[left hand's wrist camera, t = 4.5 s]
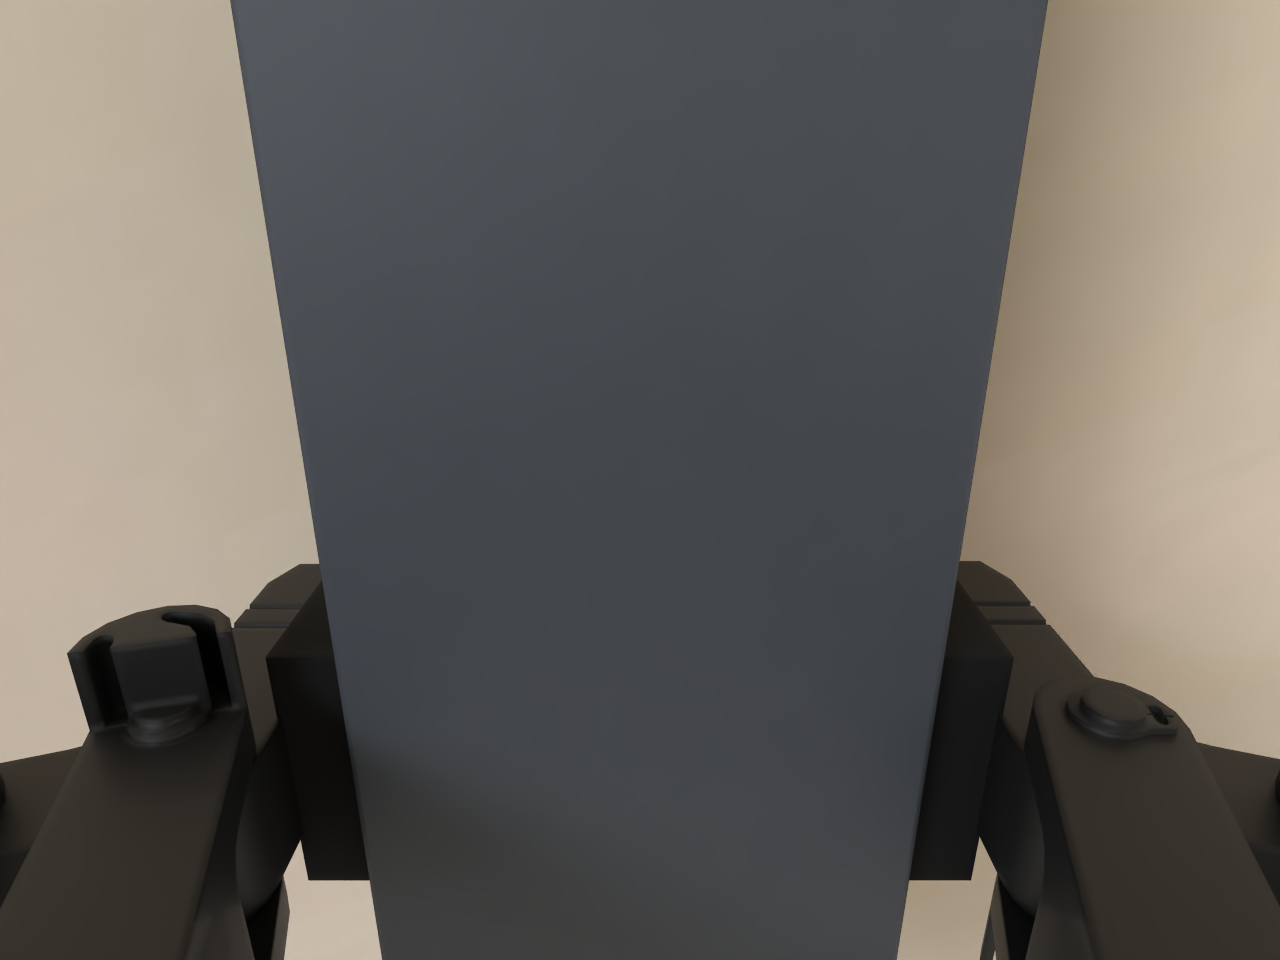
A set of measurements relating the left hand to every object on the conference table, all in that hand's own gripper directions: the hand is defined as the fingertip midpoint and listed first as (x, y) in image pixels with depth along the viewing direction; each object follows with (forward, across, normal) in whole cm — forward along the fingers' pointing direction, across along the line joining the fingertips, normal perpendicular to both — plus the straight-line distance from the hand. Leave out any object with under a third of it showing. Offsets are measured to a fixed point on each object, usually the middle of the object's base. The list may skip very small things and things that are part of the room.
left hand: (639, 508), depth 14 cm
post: (0, 0, -21) cm, 21 cm away
